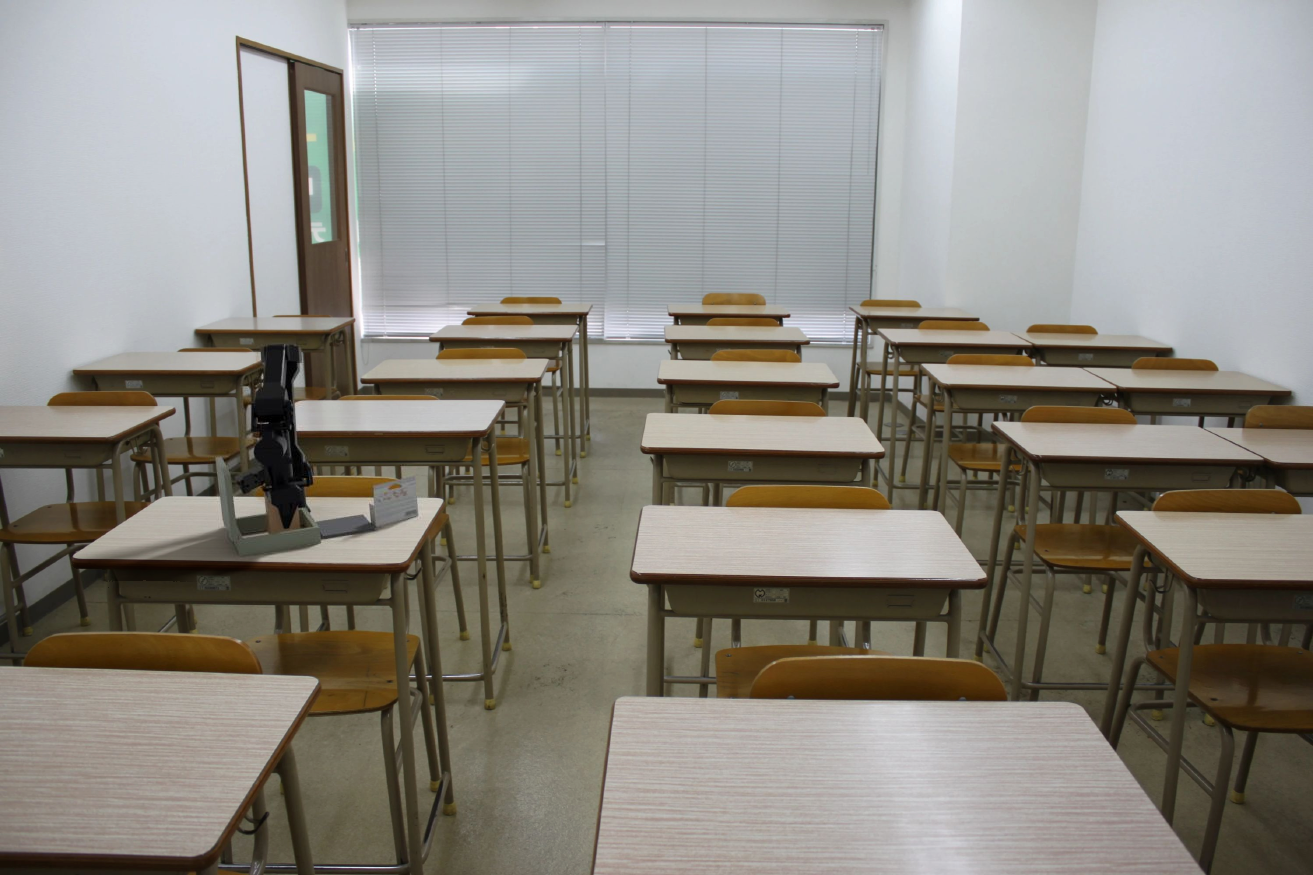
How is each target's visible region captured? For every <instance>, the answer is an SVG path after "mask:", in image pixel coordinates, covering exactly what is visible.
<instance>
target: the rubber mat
mask: <svg viewBox="0 0 1313 875" xmlns="http://www.w3.org/2000/svg"><path fill="white" fill-rule="evenodd" d="M315 522H316V523H317V525H318V526H319V527H320V537H321V538H322V539H330V538H336V537H342V536H347V535H348V536H349V535H355V534H361V533H367V532H373V531H376V527H375V526H373V525H372V524H371V521H370V520H369V519H368V518H367V517H366V516H365V515H364V513H362V514H357V515H350V516H344V517H337V518H331V519H324V520H318V521H315Z"/></svg>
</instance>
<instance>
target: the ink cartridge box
mask: <svg viewBox="0 0 1313 875" xmlns="http://www.w3.org/2000/svg"><path fill="white" fill-rule="evenodd" d="M416 479H417V478H416V476H415V475H413V476H410V477H405V478H400V479H397V480H392V481H388V482H384V483H383V482H382V483H378V484H374V485H372V493H373V502H371V503H369V504H368V507H369V517H370V518H369V519H370V523H371V524H372V525H373V526H374V527H375V528H377V527H381V526H385V524H386V525H390V524H393V523H397V522H400V521H404V520H408V518H409V519H412V518H416V517H418V516H419V507H418V504H419V503H418V495H417V481H416ZM395 484H396V485H397V484H398V485H400V487H396V488H392V489H389V488H391V487H392V486H393V485H395ZM415 516H416V517H415ZM411 517H412V518H411Z"/></svg>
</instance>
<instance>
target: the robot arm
mask: <svg viewBox="0 0 1313 875" xmlns="http://www.w3.org/2000/svg"><path fill="white" fill-rule="evenodd" d="M259 348H260V351H259V352H260V364H262V365H264V370H263V379H262V380H263V381H262V386H261V387H260V388H259V389H258V390H256V391H255V395H254V400H253V401H251V404H250V405H251V406H250V431H251V433H258V434H259V435H258V436H259V438H258V440H257V442H256V444H255V445H254V448H253V456H254V458H255V460H256V461H257V462H258V463H259V465H257V466H255V467H252V468H249V469H247V470H245V471H243V472H241V473H239V474H237V475H236V476H234V480H235V481H236V483H237V485H238V487H239V489H240V491H241V493H242V494H243V495H246V494H248V493H250V492H251V491H252V490H255V489H257V488H258V487H260V489H261V490H262V491H263V493H265V492H267V491H268V496H269V502H270V503H271V504H272V505H274V506H275V507H277V508H278V512H279V515H280V518H281V522H282V525H283V528H284V529H289V528H290V525H291V522H292V520H293V517H294V514H295V511H296V509H297V507H298V509H299V508H306V509H307V511H308V512H309V513H311V511H312V510H311V508H310V507H309V506H308V504H307V496H306V488H310V486H313V485H314V476H313V471H312V467H311V466H310V464H309V461H306V455H305V453H304V452H303V451H302V449H301V447H300V446H299V445H298V434H297V421H296V420H297V419H296V402H295V384H294V382H295V381H296V378H297V377H298V375H299V374H300V371H301V364H302V363H303V352H302V348H301V347H300V346H298V345H296V343H284V342H283V343H268V344H267V345H263V347H259Z"/></svg>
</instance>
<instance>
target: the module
mask: <svg viewBox="0 0 1313 875" xmlns="http://www.w3.org/2000/svg"><path fill="white" fill-rule="evenodd" d="M263 494H264V495H263V497H264V505H265V506H264V508H265V513H266V517H267V526H268V530H267V532H268V533H267V534H272V533H278V532H284V531H290V530H297V529H301V525H300V522H299V512H298V507H297V509H296V511H295V514H294V517H293V520H292V522H291V525H290V528H289V529H284V528H283V525H282V522H281V518H280V515H279V512H278V508H277V507H275V506H274V505H272V504H271V503H270V502H269V496H268V491H267V492H263Z"/></svg>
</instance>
